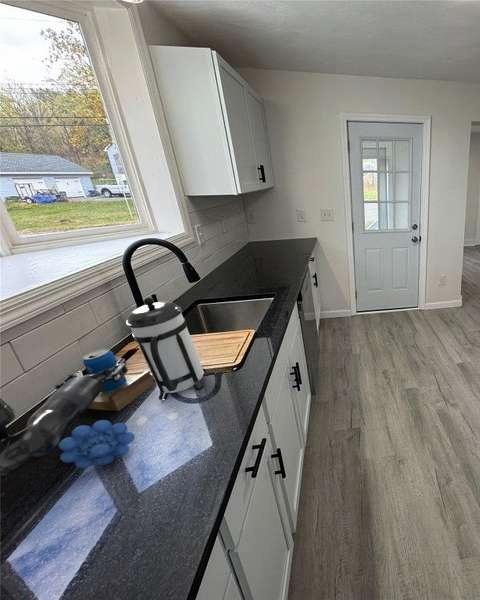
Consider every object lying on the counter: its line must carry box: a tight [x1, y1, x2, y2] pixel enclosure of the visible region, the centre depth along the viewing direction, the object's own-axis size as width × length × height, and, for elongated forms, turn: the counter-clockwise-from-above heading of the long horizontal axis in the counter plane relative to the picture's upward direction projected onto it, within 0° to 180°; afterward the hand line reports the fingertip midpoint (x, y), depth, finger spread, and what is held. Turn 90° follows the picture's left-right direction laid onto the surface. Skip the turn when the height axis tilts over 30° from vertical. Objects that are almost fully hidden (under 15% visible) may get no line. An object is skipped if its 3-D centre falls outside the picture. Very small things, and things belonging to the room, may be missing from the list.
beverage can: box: [82, 347, 127, 393], centre depth 92 cm, size 6×6×12 cm
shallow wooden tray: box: [86, 370, 156, 412], centre depth 95 cm, size 18×12×5 cm, turn 81°
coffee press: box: [125, 297, 206, 402], centre depth 91 cm, size 17×16×30 cm
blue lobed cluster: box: [58, 419, 135, 469], centre depth 70 cm, size 12×7×12 cm, turn 138°
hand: (107, 363), depth 93 cm, fingers open, 7 cm apart
